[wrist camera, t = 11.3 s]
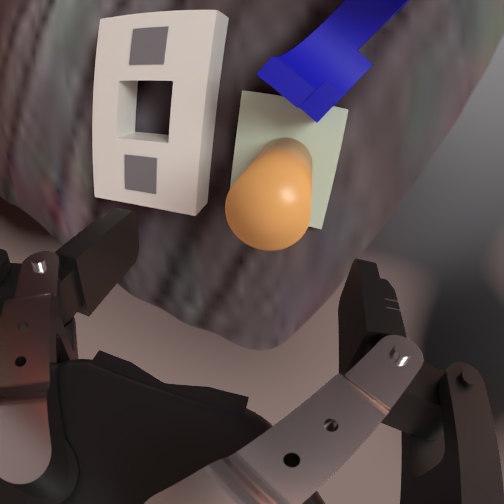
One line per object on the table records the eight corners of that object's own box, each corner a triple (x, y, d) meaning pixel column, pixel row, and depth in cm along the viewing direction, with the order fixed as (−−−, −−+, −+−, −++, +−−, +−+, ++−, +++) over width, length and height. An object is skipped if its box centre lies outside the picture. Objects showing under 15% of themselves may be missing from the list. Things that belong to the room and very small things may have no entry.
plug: (263, 132, 23) (231, 162, 14) (318, 144, 23) (320, 182, 14) (254, 182, 25) (220, 239, 17) (305, 194, 25) (298, 259, 16)
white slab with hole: (120, 22, 20) (99, 18, 18) (228, 17, 19) (216, 9, 17) (112, 186, 29) (94, 197, 26) (207, 202, 28) (195, 216, 25)
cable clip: (316, 121, 22) (317, 125, 17) (270, 82, 21) (256, 74, 16) (417, 21, 16) (444, 0, 11) (371, -18, 16) (386, -49, 10)
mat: (244, 90, 22) (242, 90, 22) (347, 109, 21) (348, 109, 21) (229, 206, 27) (227, 209, 27) (321, 226, 27) (321, 229, 26)
